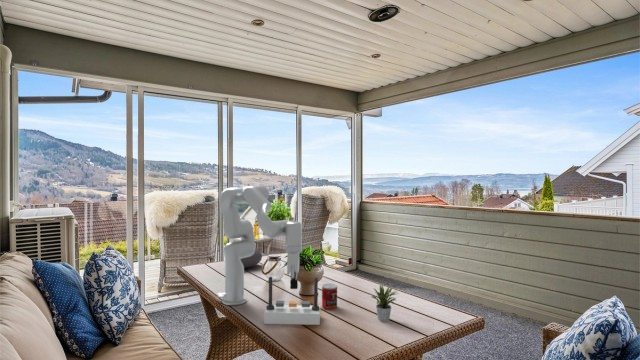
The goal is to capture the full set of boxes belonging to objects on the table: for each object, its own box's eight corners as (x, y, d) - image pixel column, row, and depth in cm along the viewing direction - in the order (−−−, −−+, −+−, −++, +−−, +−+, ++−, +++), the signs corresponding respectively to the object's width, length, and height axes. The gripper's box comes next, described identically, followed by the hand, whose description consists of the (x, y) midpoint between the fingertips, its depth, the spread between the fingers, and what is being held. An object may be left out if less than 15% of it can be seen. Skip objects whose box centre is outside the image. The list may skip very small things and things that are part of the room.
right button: (301, 307, 167) (301, 303, 167) (302, 304, 171) (302, 301, 171) (309, 307, 167) (309, 303, 167) (310, 304, 171) (310, 301, 171)
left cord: (265, 310, 168) (266, 277, 167) (267, 307, 171) (267, 275, 171) (273, 310, 167) (273, 277, 167) (274, 307, 171) (275, 275, 171)
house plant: (392, 329, 160) (392, 292, 159) (363, 322, 167) (363, 286, 167) (403, 318, 172) (403, 284, 172) (375, 312, 179) (376, 279, 179)
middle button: (288, 306, 167) (288, 303, 167) (289, 304, 171) (289, 300, 171) (296, 307, 167) (296, 303, 167) (297, 304, 171) (297, 300, 171)
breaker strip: (264, 323, 164) (264, 312, 164) (267, 315, 174) (267, 304, 174) (319, 324, 164) (319, 313, 164) (320, 316, 174) (320, 305, 174)
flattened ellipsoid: (259, 271, 253) (259, 250, 253) (223, 271, 252) (223, 249, 252) (264, 263, 278) (264, 243, 277) (231, 262, 277) (231, 243, 277)
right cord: (311, 310, 167) (311, 278, 167) (311, 308, 171) (312, 276, 171) (319, 310, 167) (319, 278, 167) (319, 308, 171) (320, 276, 170)
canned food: (326, 311, 181) (326, 288, 180) (319, 305, 188) (319, 284, 187) (339, 308, 184) (340, 286, 184) (332, 303, 191) (332, 282, 191)
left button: (275, 306, 167) (275, 303, 167) (276, 303, 171) (276, 300, 171) (283, 306, 167) (283, 303, 167) (284, 304, 171) (284, 300, 171)
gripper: (287, 245, 176) (287, 283, 176) (283, 251, 161) (283, 293, 161) (302, 245, 176) (303, 283, 176) (300, 251, 161) (301, 293, 161)
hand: (294, 288), depth 169 cm, fingers closed
